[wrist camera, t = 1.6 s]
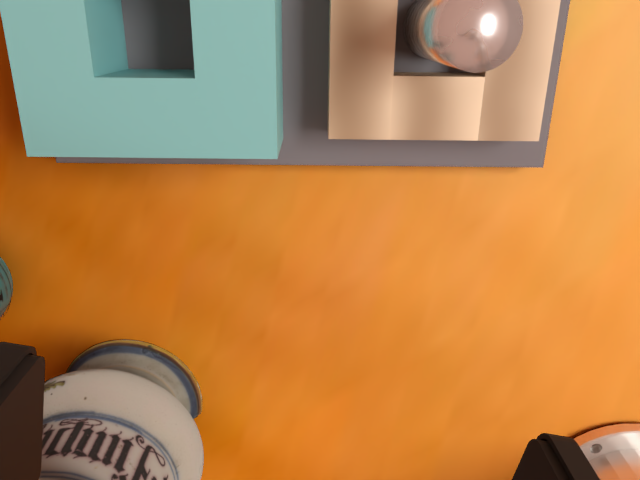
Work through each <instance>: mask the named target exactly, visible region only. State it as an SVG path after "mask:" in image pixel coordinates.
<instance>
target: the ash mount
mask: <svg viewBox="0 0 640 480" xmlns="http://www.w3.org/2000/svg"><path fill="white" fill-rule="evenodd" d="M518 2H519V4H520V7H521V10H522V14H523V31H522V36H521V39H520V41H519V44H518V46H517V48H516V49H515V51H514V52H513V54H512V55H511V56H510V57H509V58H508V59H507V60H506V61H505V62H504V63H503V64H501V65H500V66H498V67H496V68H494V69H492V70H489V71H486V72H480V73H444V72H394V58H395V41H396V24H397V6H398V0H330V11H329V72H328V139H367V140H464V141H539V137H540V130H541V124H542V117H543V111H544V105H545V98H546V92H547V85H548V79H549V73H550V66H551V60H552V53H553V47H554V41H555V34H556V28H557V21H558V15H559V9H560V2H561V0H518Z"/></svg>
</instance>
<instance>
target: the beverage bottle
mask: <svg viewBox="0 0 640 480" xmlns="http://www.w3.org/2000/svg"><path fill="white" fill-rule="evenodd" d="M12 292H13V282H12V277H11V274H10V271H9V269H8V267H7V265H6V264H5V262H4V261H3V260H2V258H1V257H0V316H1V315H4V314H3V313H4V312H5V310H6V309H7V307H8V305H9V302H10V303H11V297H12ZM9 306H10V305H9ZM8 309H9V308H8ZM7 311H8V310H7ZM6 313H7V312H6ZM1 317H2V316H1ZM0 320H1V319H0Z"/></svg>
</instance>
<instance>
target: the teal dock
mask: <svg viewBox="0 0 640 480" xmlns="http://www.w3.org/2000/svg"><path fill="white" fill-rule="evenodd" d="M0 12H1V18H2V23H3V29H4V34H5V40H6V45H7V51H8V56H9V61H10V67H11V72H12V78H13V83H14V89H15V94H16V99H17V105H18V110H19V116H20V121H21V127H22V132H23V137H24V143H25V148H26V154H27V157H118V158H219V159H278V155H279V152H280V148H281V145H282V141H283V83H282V5H281V0H190V12H191V27H192V41H193V56H194V70H184V69H128V60H127V51H126V42H125V32H124V23H123V14H122V5H121V0H0Z"/></svg>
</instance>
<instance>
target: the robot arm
mask: <svg viewBox="0 0 640 480" xmlns="http://www.w3.org/2000/svg"><path fill="white" fill-rule="evenodd" d="M44 379H45V360H44V358H43V357H41V356H37V355H36V350H35V348H34V347H31V346H25V345H19V344H13V343H7V342H0V480H39V477H40V473H41V462H42V434H43V407H44ZM512 480H640V424H617V425H610V426H605V427H602V428H598V429H595V430H591V431H589V432H587V433H584V434H582V435H580V436H578V437H576V438H574V439H572V438H570V437H565V436H559V435H553V434H547V433H543V434H540V435H539V436H538V437H537V439H532V440H531V441H529V443H528V445H527V447H526V449H525V452H524V454H523V456H522V458H521V461H520V463H519V465H518V467H517V470H516V472H515V474H514V476H513V479H512Z"/></svg>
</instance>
